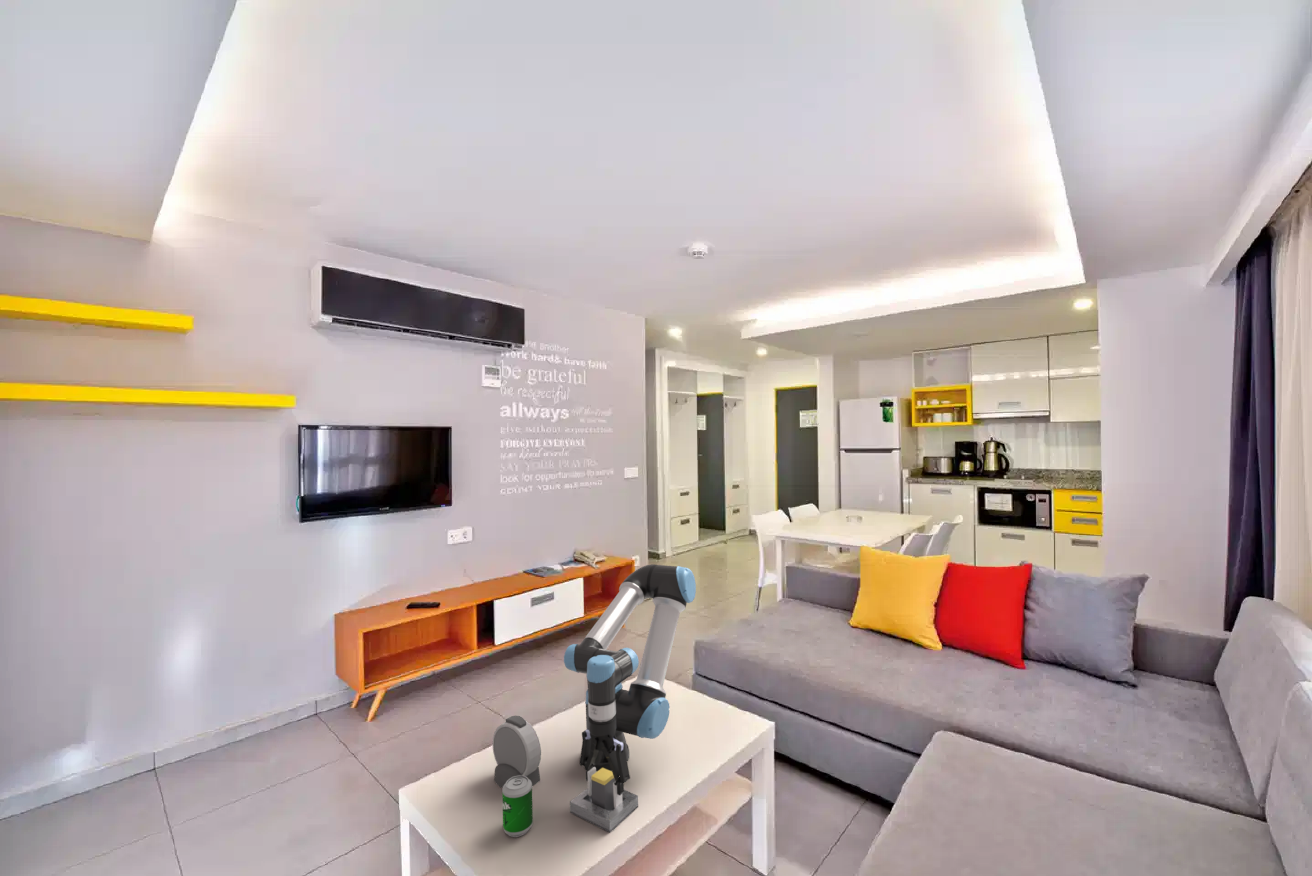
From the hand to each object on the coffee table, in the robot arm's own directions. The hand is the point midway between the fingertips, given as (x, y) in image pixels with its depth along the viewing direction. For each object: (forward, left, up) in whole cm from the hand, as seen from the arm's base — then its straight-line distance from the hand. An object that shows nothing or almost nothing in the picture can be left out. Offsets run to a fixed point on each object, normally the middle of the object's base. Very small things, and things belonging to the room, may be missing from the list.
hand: (605, 799), depth 147 cm
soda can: (-14, -18, -3) cm, 23 cm away
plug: (0, 0, -2) cm, 2 cm away
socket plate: (0, 0, -3) cm, 3 cm away
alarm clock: (-31, -4, -3) cm, 31 cm away
